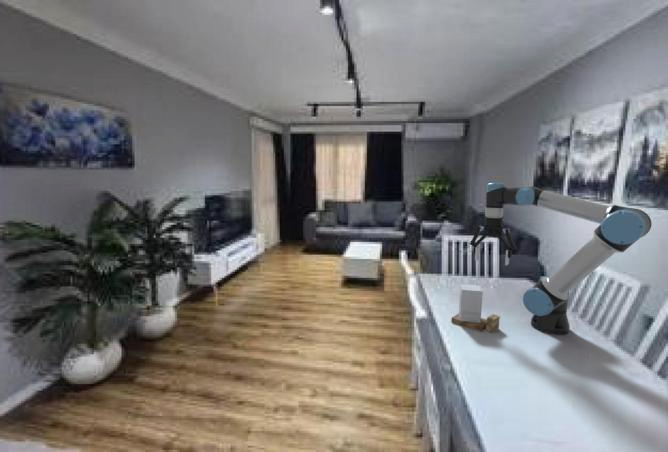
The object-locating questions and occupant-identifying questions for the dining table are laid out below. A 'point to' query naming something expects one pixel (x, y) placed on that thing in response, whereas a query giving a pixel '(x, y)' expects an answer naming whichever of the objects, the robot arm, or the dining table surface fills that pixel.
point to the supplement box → (470, 303)
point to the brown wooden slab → (470, 323)
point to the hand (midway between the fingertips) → (491, 262)
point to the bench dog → (492, 323)
